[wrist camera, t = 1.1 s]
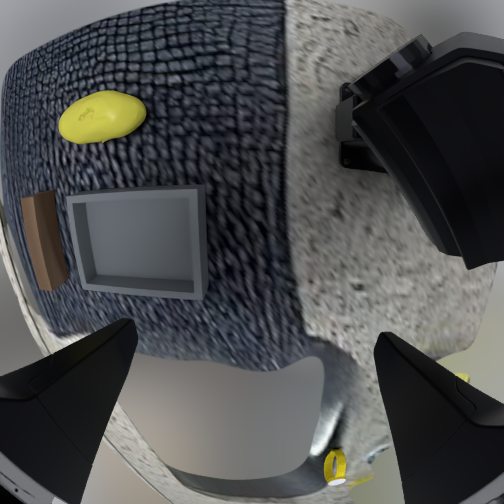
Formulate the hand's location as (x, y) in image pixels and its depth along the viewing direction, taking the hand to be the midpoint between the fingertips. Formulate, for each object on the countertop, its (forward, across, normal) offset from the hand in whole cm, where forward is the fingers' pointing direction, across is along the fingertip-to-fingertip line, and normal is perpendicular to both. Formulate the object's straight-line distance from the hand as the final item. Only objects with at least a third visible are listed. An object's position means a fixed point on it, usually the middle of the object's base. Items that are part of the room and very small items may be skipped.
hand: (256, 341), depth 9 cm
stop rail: (+12, +20, +1) cm, 24 cm away
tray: (+12, +10, +1) cm, 16 cm away
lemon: (+13, +12, -9) cm, 20 cm away
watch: (+13, -13, +35) cm, 40 cm away
